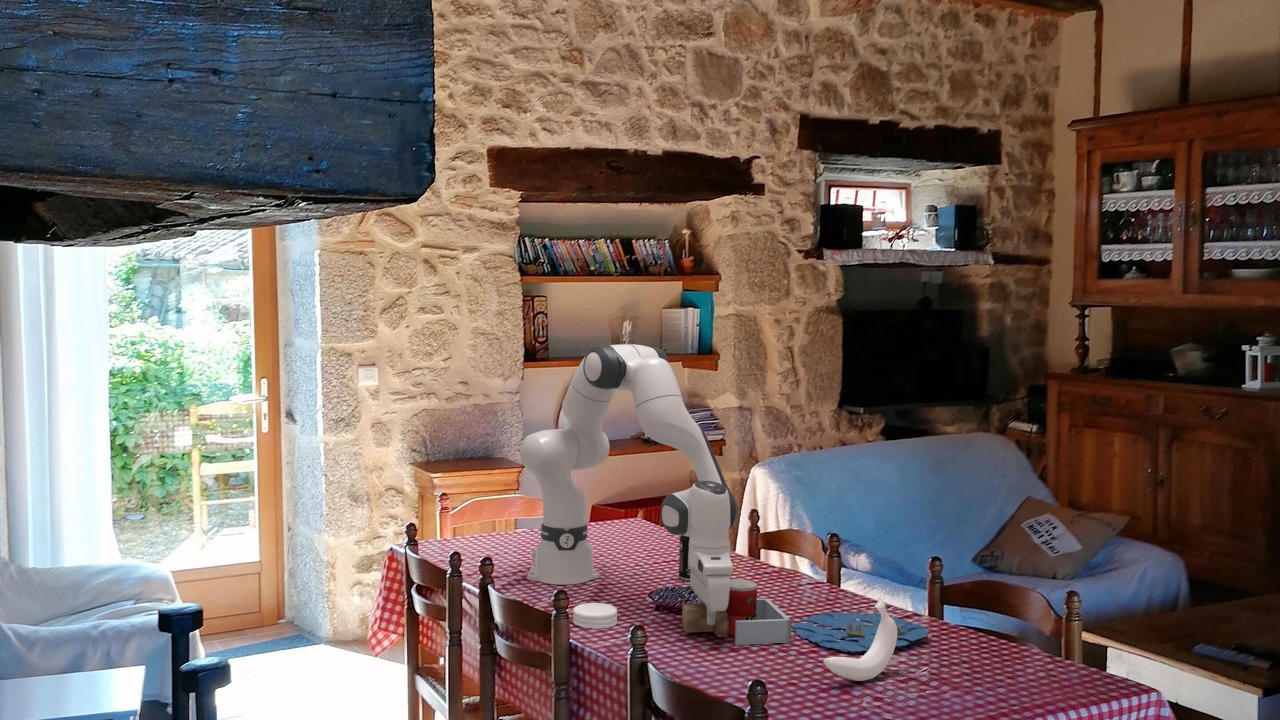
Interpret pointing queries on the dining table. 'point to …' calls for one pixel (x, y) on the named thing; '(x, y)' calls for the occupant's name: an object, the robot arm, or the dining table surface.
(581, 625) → the white round container
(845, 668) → the banana
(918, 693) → the dining table surface
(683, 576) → the beverage can
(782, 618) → the box
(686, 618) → the t-shaped block
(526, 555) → the dining table surface
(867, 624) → the decorative plate
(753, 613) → the canned food
